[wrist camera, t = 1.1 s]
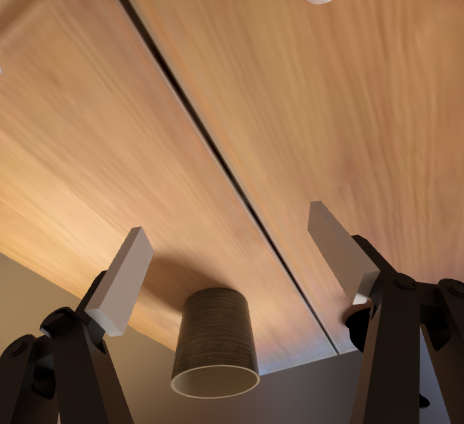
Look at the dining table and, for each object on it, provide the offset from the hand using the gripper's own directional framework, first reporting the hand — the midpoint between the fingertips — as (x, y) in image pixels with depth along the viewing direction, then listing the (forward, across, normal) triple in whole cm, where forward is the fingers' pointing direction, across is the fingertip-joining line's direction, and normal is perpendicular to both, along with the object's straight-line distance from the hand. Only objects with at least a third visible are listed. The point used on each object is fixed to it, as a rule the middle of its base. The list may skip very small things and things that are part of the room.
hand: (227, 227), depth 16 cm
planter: (+26, -10, -53) cm, 59 cm away
